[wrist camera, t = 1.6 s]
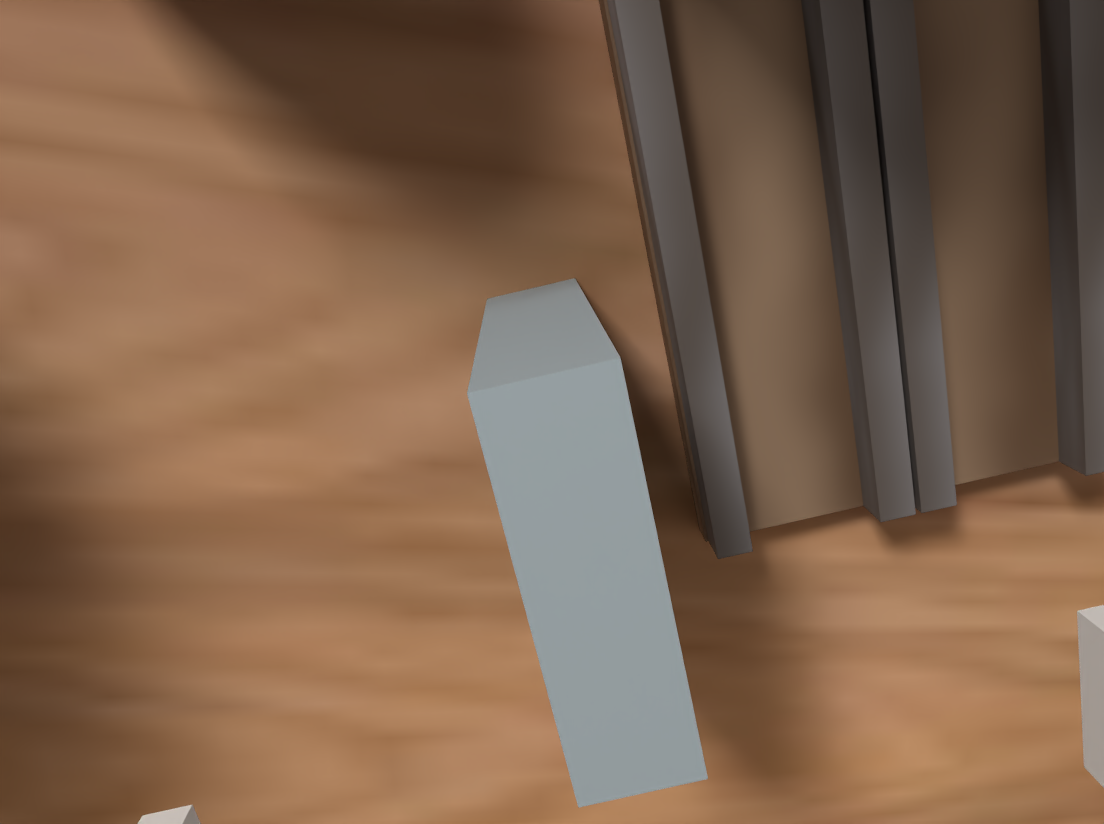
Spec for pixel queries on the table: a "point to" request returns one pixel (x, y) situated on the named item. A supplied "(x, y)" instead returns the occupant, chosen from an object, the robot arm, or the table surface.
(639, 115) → the track sill
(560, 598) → the pale grey rectangular block
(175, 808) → the robot arm
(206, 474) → the table surface
